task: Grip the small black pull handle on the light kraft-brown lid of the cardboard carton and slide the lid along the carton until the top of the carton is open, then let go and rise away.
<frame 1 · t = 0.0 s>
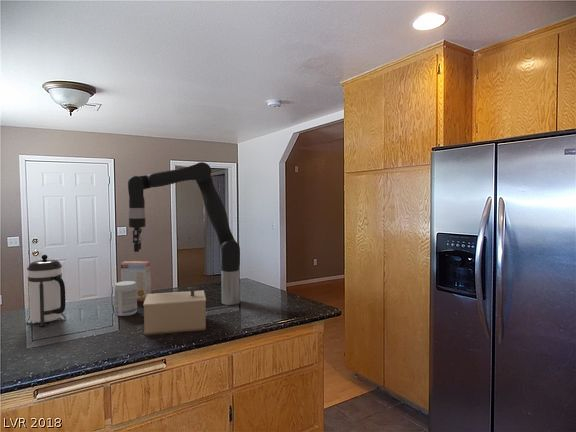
hand: (137, 250, 180), 29 cm above the worktop, tool pointing down, fingers open, 8 cm apart
coffee press: (49, 322, 163), on the worktop
cracker box: (136, 300, 198), on the worktop
supplement tub: (126, 313, 176), on the worktop
carton: (176, 325, 159), on the worktop
carton lid: (175, 293, 158), point 14 cm above the worktop, slide at 0.0 cm
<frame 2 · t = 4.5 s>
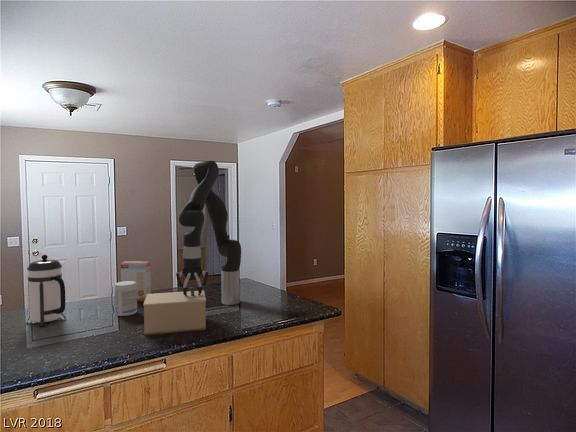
hand: (192, 295, 160), 13 cm above the worktop, tool pointing down, fingers closed on carton lid, 5 cm apart
carton lid: (175, 293, 158), point 14 cm above the worktop, slide at 0.0 cm, touching gripper
everything else where it was.
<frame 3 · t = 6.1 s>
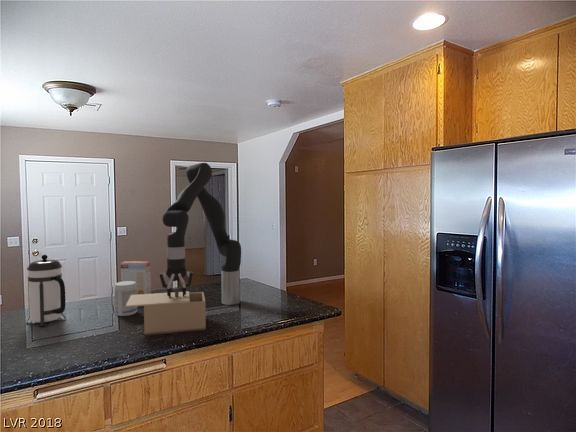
hand: (176, 296, 158), 13 cm above the worktop, tool pointing down, fingers closed on carton lid, 5 cm apart
carton lid: (159, 294, 156), point 14 cm above the worktop, slide at 6.6 cm, touching gripper
everything else where it was.
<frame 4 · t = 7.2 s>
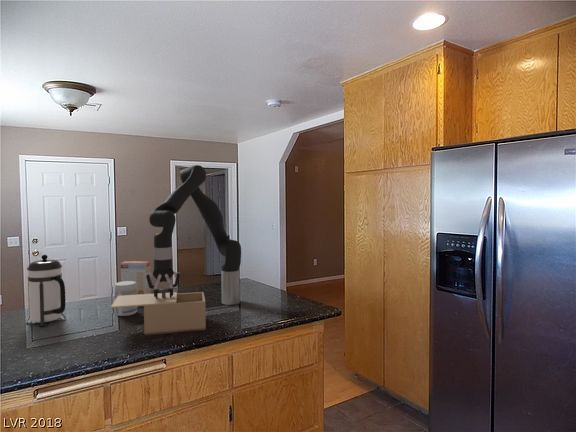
hand: (163, 297, 157), 13 cm above the worktop, tool pointing down, fingers closed on carton lid, 5 cm apart
carton lid: (146, 295, 155), point 14 cm above the worktop, slide at 11.9 cm, touching gripper
everything else where it was.
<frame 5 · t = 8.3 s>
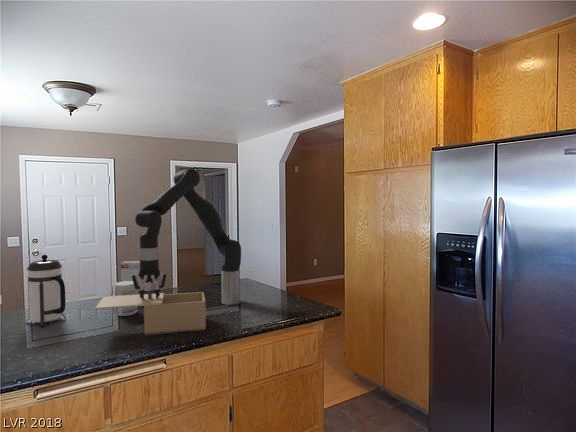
hand: (149, 298, 155), 13 cm above the worktop, tool pointing down, fingers closed on carton lid, 5 cm apart
carton lid: (132, 296, 153), point 14 cm above the worktop, slide at 17.4 cm, touching gripper
everything else where it was.
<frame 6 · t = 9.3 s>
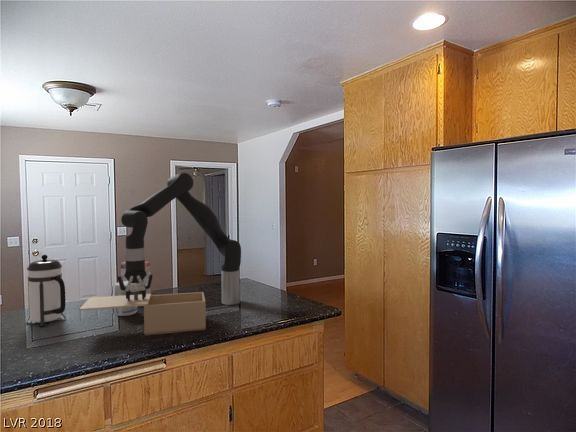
hand: (136, 299, 154), 13 cm above the worktop, tool pointing down, fingers closed on carton lid, 5 cm apart
carton lid: (117, 297, 152), point 14 cm above the worktop, slide at 22.8 cm, touching gripper
everything else where it was.
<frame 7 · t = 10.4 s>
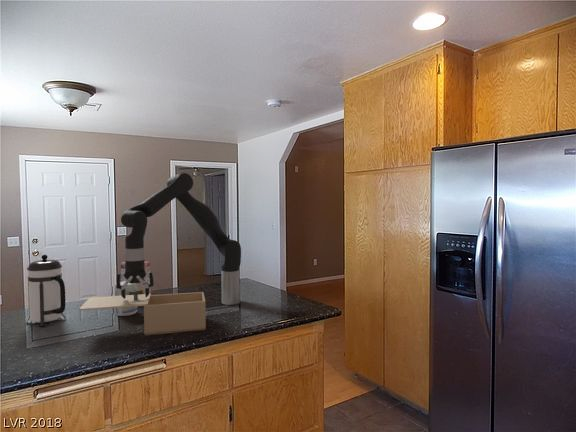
hand: (135, 297, 154), 14 cm above the worktop, tool pointing down, fingers open, 8 cm apart
carton lid: (117, 297, 152), point 14 cm above the worktop, slide at 22.9 cm
everything else where it was.
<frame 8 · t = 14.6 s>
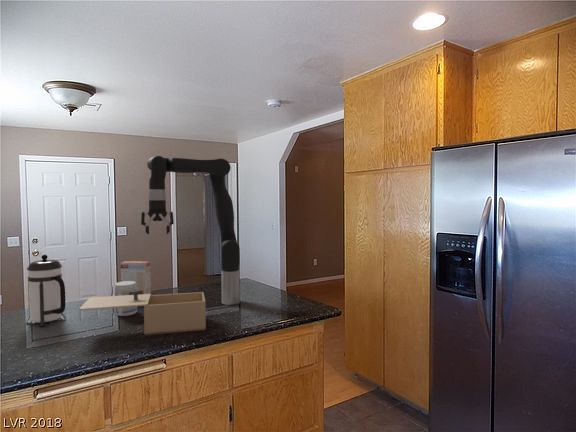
hand: (157, 233, 173), 38 cm above the worktop, tool pointing down, fingers open, 8 cm apart
nothing on the worktop moved.
at the end: carton lid slide at 22.9 cm; the gripper is holding nothing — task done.
